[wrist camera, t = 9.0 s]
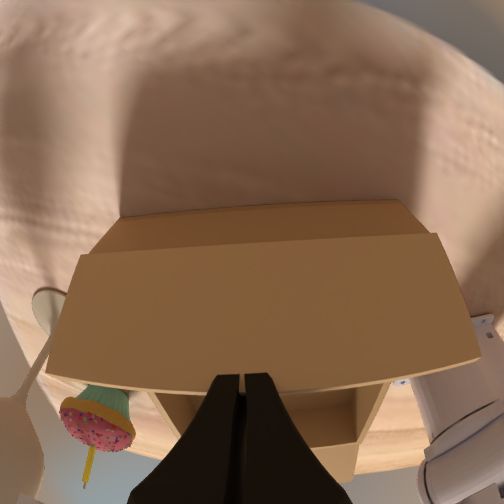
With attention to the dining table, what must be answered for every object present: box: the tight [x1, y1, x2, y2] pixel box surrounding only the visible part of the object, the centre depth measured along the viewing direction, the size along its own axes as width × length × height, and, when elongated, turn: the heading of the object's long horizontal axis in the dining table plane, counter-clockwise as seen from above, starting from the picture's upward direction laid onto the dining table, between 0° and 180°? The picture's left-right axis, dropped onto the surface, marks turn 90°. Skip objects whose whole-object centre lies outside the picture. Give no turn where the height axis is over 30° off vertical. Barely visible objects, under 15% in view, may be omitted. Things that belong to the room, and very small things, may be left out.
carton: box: [89, 200, 430, 450], centre depth 21 cm, size 17×22×5 cm
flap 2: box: [312, 444, 359, 483], centre depth 25 cm, size 17×6×1 cm, turn 95°
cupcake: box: [59, 384, 136, 489], centre depth 23 cm, size 9×8×12 cm
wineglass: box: [0, 289, 66, 504], centre depth 14 cm, size 8×8×21 cm
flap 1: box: [45, 233, 482, 396], centre depth 11 cm, size 17×6×1 cm
